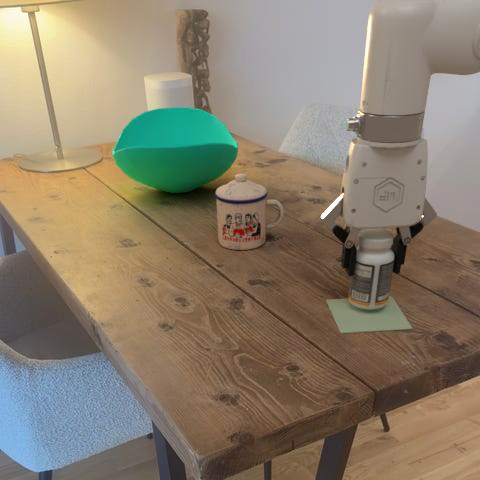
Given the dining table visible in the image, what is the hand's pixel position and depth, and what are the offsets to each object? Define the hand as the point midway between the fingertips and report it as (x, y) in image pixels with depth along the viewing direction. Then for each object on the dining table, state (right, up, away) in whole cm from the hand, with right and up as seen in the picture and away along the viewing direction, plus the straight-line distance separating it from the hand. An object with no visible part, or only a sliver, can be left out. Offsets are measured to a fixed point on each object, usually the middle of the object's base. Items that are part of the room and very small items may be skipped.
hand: (371, 269), depth 79 cm
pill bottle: (0, -4, +3) cm, 5 cm away
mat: (0, -6, +2) cm, 6 cm away
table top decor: (-32, +33, +51) cm, 69 cm away
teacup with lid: (-17, +12, +25) cm, 32 cm away
